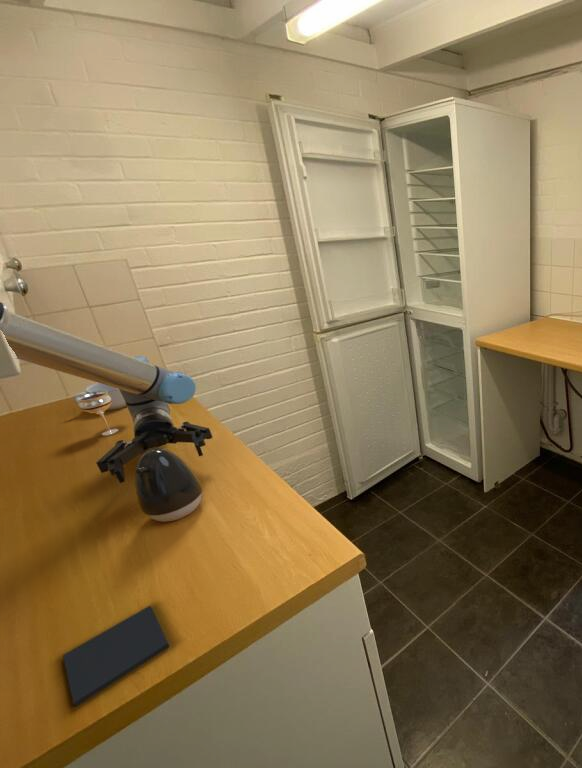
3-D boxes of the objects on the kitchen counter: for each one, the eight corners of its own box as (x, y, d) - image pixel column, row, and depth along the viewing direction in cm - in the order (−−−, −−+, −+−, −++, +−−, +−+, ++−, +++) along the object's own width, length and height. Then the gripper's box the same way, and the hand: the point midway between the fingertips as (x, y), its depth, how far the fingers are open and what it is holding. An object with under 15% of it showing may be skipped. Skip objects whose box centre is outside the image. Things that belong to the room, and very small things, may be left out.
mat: (76, 708, 53) (72, 703, 53) (65, 659, 59) (62, 655, 59) (170, 647, 60) (167, 643, 60) (152, 609, 66) (150, 605, 66)
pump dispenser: (136, 534, 82) (103, 470, 76) (165, 500, 91) (137, 441, 85) (194, 525, 84) (165, 462, 78) (216, 493, 93) (192, 434, 87)
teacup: (137, 396, 144) (128, 375, 141) (139, 406, 137) (129, 384, 134) (83, 410, 136) (71, 387, 133) (82, 421, 128) (69, 397, 125)
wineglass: (127, 424, 125) (110, 388, 120) (123, 434, 120) (105, 396, 115) (98, 431, 122) (79, 394, 117) (92, 441, 117) (72, 403, 112)
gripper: (217, 423, 113) (233, 454, 98) (93, 461, 98) (90, 504, 83) (208, 398, 110) (223, 427, 95) (78, 433, 95) (72, 473, 80)
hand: (161, 463), depth 89 cm, fingers open, 13 cm apart
